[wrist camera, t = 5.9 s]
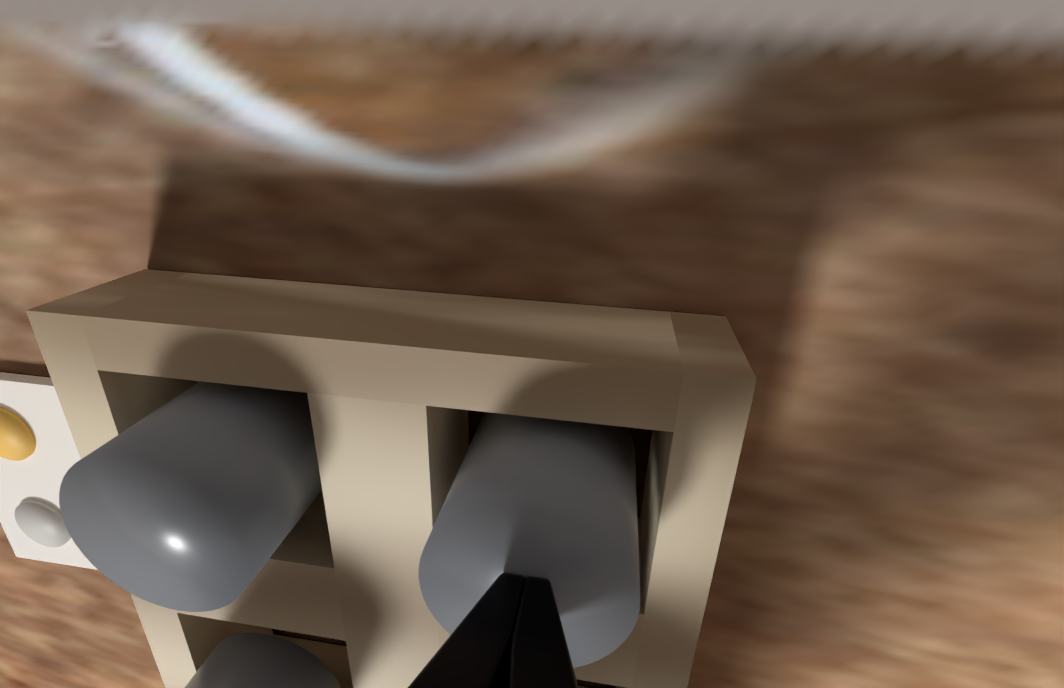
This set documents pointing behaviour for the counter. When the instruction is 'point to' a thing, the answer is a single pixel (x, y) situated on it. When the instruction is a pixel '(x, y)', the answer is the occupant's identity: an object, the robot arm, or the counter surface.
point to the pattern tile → (35, 470)
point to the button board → (412, 443)
